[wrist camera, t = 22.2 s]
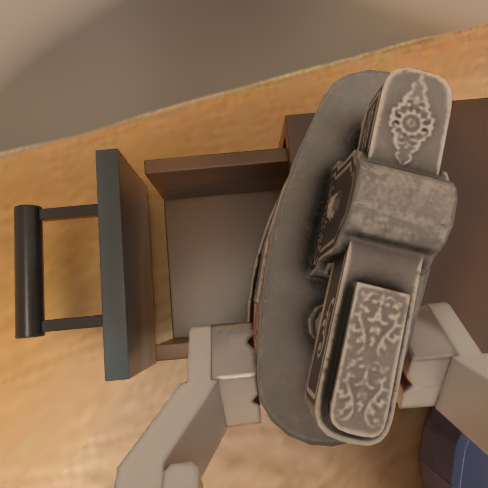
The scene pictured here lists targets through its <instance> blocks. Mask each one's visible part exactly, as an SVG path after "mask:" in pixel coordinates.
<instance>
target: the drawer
mask: <svg viewBox="0 0 488 488" xmlns="http://www.w3.org/2000/svg"><path fill="white" fill-rule="evenodd" d="M144 167H145V174H146V176H147V177H148V179H149V180H150V181H151V183H152V184H153V185H154V187H155V188H156V190H157V191H158V192H159V194H160V195H161V197H162V198H163V199H164V207H165V222H166V237H167V252H168V267H169V282H170V297H171V312H172V327H173V339H170V340H168V341H165V342H163V343H160V344H157V345H156V337H155V320H154V304H153V287H152V271H151V254H150V238H149V221H148V204H147V188H146V185H145V183H144V182H143V181H142V179H141V178H140V177H139V176H138V174H137V173H136V172H135V170H134V169H133V168H132V167H131V165H130V164H129V163H128V162H127V160H126V159H125V158H124V156H123V155H122V154H121V153H120V151H119V150H118V149H108V150H97V151H96V174H97V197H98V204H91V205H80V206H69V207H58V208H47V209H42V207H40V206H36V205H19V206H15V207H14V259H15V338H16V339H18V338H29V337H38V336H45V332H50V331H60V330H71V329H81V328H92V327H102V326H103V340H104V364H105V381H114V380H124V379H129V378H131V377H133V376H135V375H136V374H138V373H140V372H141V371H143V370H145V369H147V368H148V367H150V366H152V365H153V364H155V363H157V361H164V360H174V359H184V358H188V350H189V331H190V328H191V326H203V325H212V324H226V323H240V322H247V305H248V298H249V292H250V286H251V280H252V274H253V268H254V262H255V259H256V255H257V252H258V249H259V246H260V243H261V240H262V237H263V234H264V230H265V227H266V224H267V221H268V219H269V217H270V215H271V212H272V210H273V208H274V206H275V204H276V202H277V199H278V197H279V195H280V193H281V191H282V188H283V186H284V184H285V182H286V180H287V178H288V175H289V164H288V156H287V148H278V149H266V150H255V151H244V152H233V153H222V154H211V155H200V156H188V157H177V158H166V159H155V160H145V161H144ZM89 217H98V221H99V245H100V269H101V293H102V315H95V316H85V317H74V318H64V319H53V320H45V305H44V259H43V221H56V220H67V219H78V218H89Z"/></svg>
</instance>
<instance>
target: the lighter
mask: <svg viewBox="0 0 488 488" xmlns="http://www.w3.org/2000/svg"><path fill="white" fill-rule="evenodd" d="M451 107H452V92H451V89H450V86H449V84H448V83H447V82H446V81H445V80H444V79H443V78H442V77H440V76H438V75H435V74H433V73H430V72H427V71H423V70H419V69H412V68H401V69H397V70H394V71H393V72H392V73H390V72H383V71H373V70H366V71H361V72H356V73H351V74H348V75H347V76H345V77H343V78H341V79H340V80H338V81H336V82H335V83H333V84H332V86H331V87H330V88H329V90H328V91H327V92H326V94H325V95H324V96H323V98H322V101H321V103H320V105H319V107H318V109H317V111H316V114H315V116H314V118H313V120H312V122H311V124H310V127H309V129H308V131H307V133H306V135H305V137H304V140H303V142H302V144H301V146H300V148H299V150H298V153H297V155H296V157H295V159H294V162H293V164H292V166H291V169H290V172H289V175H288V178H287V180H286V182H285V184H284V186H283V188H282V191H281V193H280V195H279V197H278V199H277V202H276V204H275V206H274V208H273V210H272V212H271V215H270V217H269V219H268V221H267V224H266V227H265V230H264V234H263V237H262V240H261V243H260V246H259V249H258V252H257V255H256V259H255V262H254V268H253V274H252V280H251V286H250V292H249V298H248V305H247V322H252V330H253V339H254V349H255V356H256V366H257V376H256V381H257V389H258V395H259V399H260V402H261V404H262V405H263V407H264V409H265V411H266V412H267V414H268V416H269V418H270V419H271V421H272V422H273V423H275V424H276V425H277V426H278V427H279V428H280V429H281V430H283V431H284V432H285V433H286V434H287V435H288V436H291V437H293V438H295V439H298V440H300V441H303V442H305V443H307V444H310V445H320V446H332V447H333V446H337V445H341V444H345V443H350V444H354V445H364V446H371V445H373V444H376V443H379V442H381V441H382V440H383V438H384V437H385V436H386V435H387V434H388V432H389V429H390V426H391V423H392V420H393V416H394V411H395V406H396V400H397V395H398V390H399V384H400V379H401V374H402V368H403V363H404V358H405V356H406V353H407V351H408V348H409V346H410V343H411V340H412V336H413V332H414V329H415V325H416V321H417V317H418V313H419V309H420V305H421V302H422V298H423V294H424V290H425V286H426V282H427V279H428V275H429V271H430V267H431V265H432V263H433V261H434V259H435V257H436V256H437V255H438V254H439V253H440V252H441V251H442V249H443V248H444V246H445V244H446V243H447V240H448V238H449V235H450V233H451V230H452V228H453V223H454V217H455V211H456V206H457V200H458V199H457V189H456V186H455V185H454V183H452V182H450V181H449V178H448V174H447V172H444V171H440V166H441V161H442V155H443V150H444V145H445V139H446V134H447V129H448V123H449V118H450V113H451Z"/></svg>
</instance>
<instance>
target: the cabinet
mask: <svg viewBox="0 0 488 488" xmlns="http://www.w3.org/2000/svg"><path fill="white" fill-rule="evenodd" d="M315 114H316V113H310V114H299V115H287V116H285V119H284V124H283V129H282V134H281V138H280V143H279V148H287V156H288V164H289V172H290V169H291V166H292V164H293V162H294V159H295V157H296V155H297V153H298V150H299V148H300V146H301V144H302V142H303V140H304V137H305V135H306V133H307V131H308V129H309V127H310V124H311V122H312V120H313V118H314V116H315ZM440 171H444V172H447V174H448V178H449V181H450V182H452V183H454V185H455V186H456V189H457V199H458V200H457V206H456V211H455V217H454V223H453V228H452V230H451V233H450V235H449V238H448V240H447V243H446V244H445V246H444V248H443V249H442V251H441V252H440V253H439V254H438V255H437V256H436V257H435V259H434V261H433V263H432V265H431V267H430V271H429V275H428V279H427V282H426V286H425V290H424V294H423V298H422V302H421V304H423V305H425V304H431V303H441V302H446V303H448V304H449V305H450V306H451V308H452V309H453V311H454V312H455V314H456V315H457V317H458V318H459V320H460V321H461V323H462V324H463V326H464V327H465V329H466V330H467V331H468V333H469V334H470V336H471V337H472V339H473V340H474V342H475V343H476V345H477V346H478V348H479V349H480V351H481V352H482V353H488V98H479V99H468V100H457V101H452V107H451V113H450V118H449V123H448V129H447V134H446V139H445V145H444V150H443V155H442V161H441V166H440Z"/></svg>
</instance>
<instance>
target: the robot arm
mask: <svg viewBox="0 0 488 488" xmlns="http://www.w3.org/2000/svg"><path fill="white" fill-rule="evenodd" d="M256 376H257V366H256V356H255V349H254V339H253V330H252V322H240V323H226V324H212V325H203V326H191V328H190V331H189V350H188V371H187V383H181V384H180V385H179V386H178V388H177V389H176V390H175V392H174V393H173V394H172V396H171V397H170V398H169V400H168V401H167V402H166V404H165V405H164V406H163V408H162V409H161V410H160V412H159V413H158V414H157V416H156V417H155V418H154V420H153V421H152V422H151V424H150V425H149V426H148V428H147V429H146V430H145V432H144V433H143V434H142V436H141V437H140V438H139V440H138V441H137V442H136V444H135V445H134V446H133V448H132V449H131V450H130V451H129V453H128V454H127V455H126V457H125V458H124V459H123V461H122V462H121V463H120V465H119V466H118V468H117V474H116V479H115V485H114V488H203V484H202V480H201V478H202V476H203V474H204V472H205V470H206V468H207V466H208V464H209V462H210V460H211V458H212V456H213V454H214V452H215V450H216V449H217V447H218V445H219V443H220V441H221V439H222V437H223V435H224V433H225V431H226V427H232V426H240V425H247V424H255V423H261V414H260V401H259V395H258V389H257V381H256ZM396 401H397V403H398V406H399V408H400V409H404V408H418V407H431V406H436V407H435V408H436V409H437V410H438V411H439V412H440V413H441V414H442V415H443V416H445V417H446V418H447V419H448V420H449V421H450V422H451V423H452V424H453V425H455V426H456V427H457V428H458V429H459V430H460V431H461V432H462V433H463V434H465V435H466V436H467V437H468V438H469V439H470V440H471V441H472V442H473V443H475V444H476V445H477V446H478V447H479V448H480V449H481V450H482V451H483V452H485V453H486V454H487V455H488V353H482V352H481V351H480V349H479V348H478V346H477V345H476V343H475V342H474V340H473V339H472V337H471V336H470V334H469V333H468V331H467V330H466V329H465V327H464V326H463V324H462V323H461V321H460V320H459V318H458V317H457V315H456V314H455V312H454V311H453V309H452V308H451V306H450V305H449V304H448V303H446V302H441V303H431V304H425V305H423V304H421V305H420V309H419V313H418V317H417V321H416V325H415V329H414V332H413V336H412V340H411V343H410V346H409V348H408V351H407V353H406V356H405V358H404V363H403V368H402V374H401V379H400V384H399V390H398V395H397V400H396Z"/></svg>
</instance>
